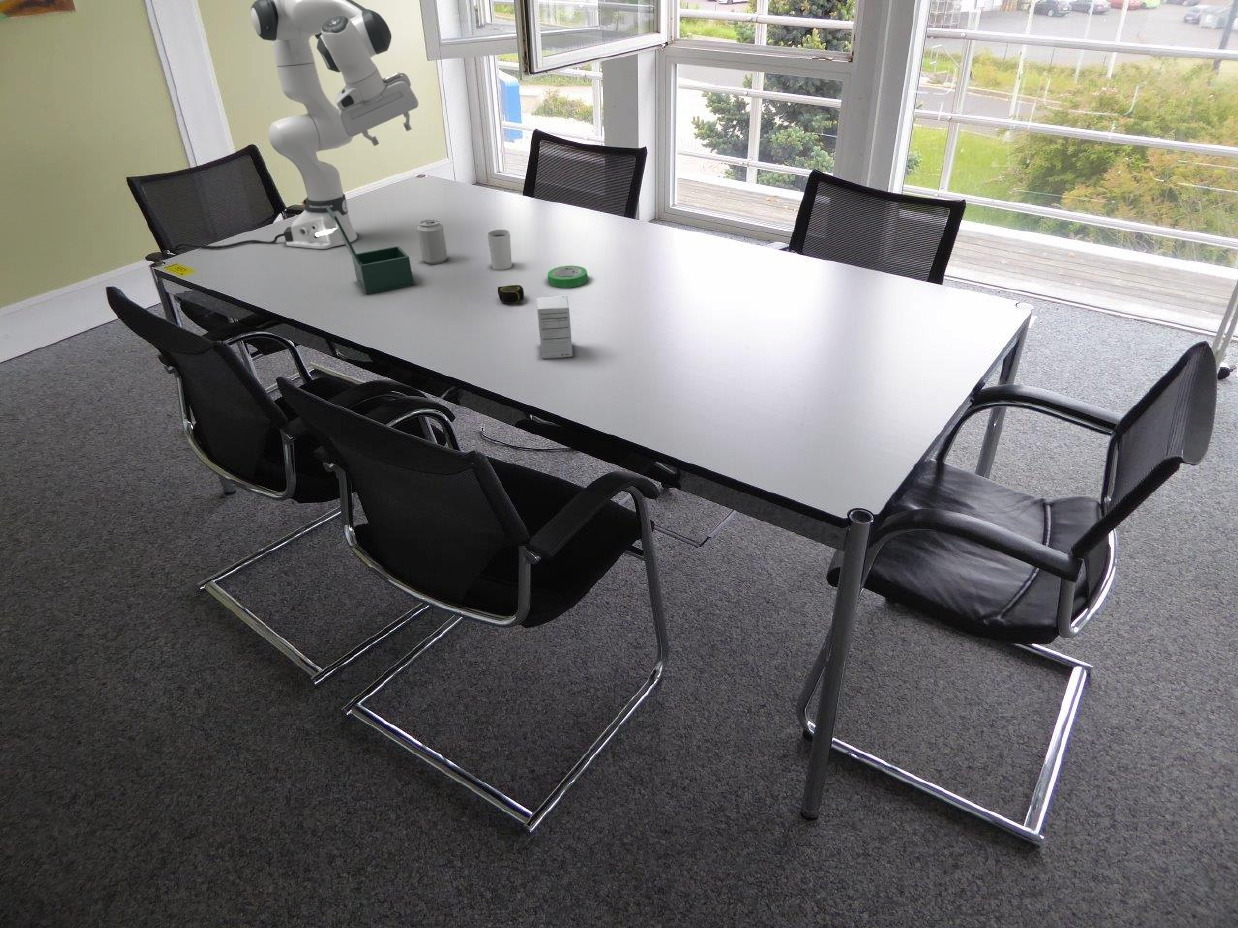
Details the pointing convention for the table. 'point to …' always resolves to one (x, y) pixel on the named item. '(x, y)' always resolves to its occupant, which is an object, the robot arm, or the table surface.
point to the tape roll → (560, 281)
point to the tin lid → (343, 235)
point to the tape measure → (511, 293)
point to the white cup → (500, 249)
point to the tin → (383, 270)
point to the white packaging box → (554, 326)
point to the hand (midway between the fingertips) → (392, 137)
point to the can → (432, 241)
